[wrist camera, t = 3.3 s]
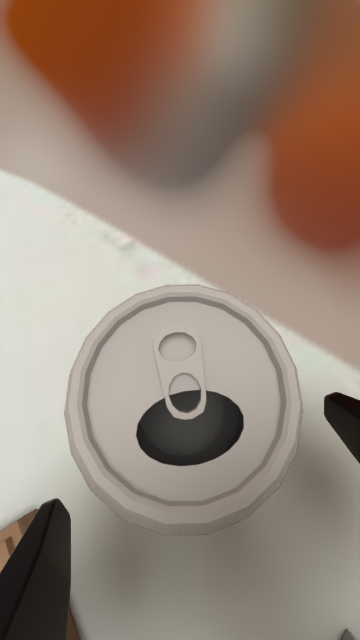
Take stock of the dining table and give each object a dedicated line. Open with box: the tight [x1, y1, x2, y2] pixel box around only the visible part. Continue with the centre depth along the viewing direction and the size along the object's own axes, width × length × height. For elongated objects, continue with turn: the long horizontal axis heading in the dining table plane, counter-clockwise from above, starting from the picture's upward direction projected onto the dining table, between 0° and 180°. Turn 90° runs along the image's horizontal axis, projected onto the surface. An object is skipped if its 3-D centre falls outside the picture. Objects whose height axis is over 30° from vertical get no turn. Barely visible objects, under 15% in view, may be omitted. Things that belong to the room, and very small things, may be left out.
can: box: [64, 285, 303, 535], centre depth 12 cm, size 8×8×12 cm
